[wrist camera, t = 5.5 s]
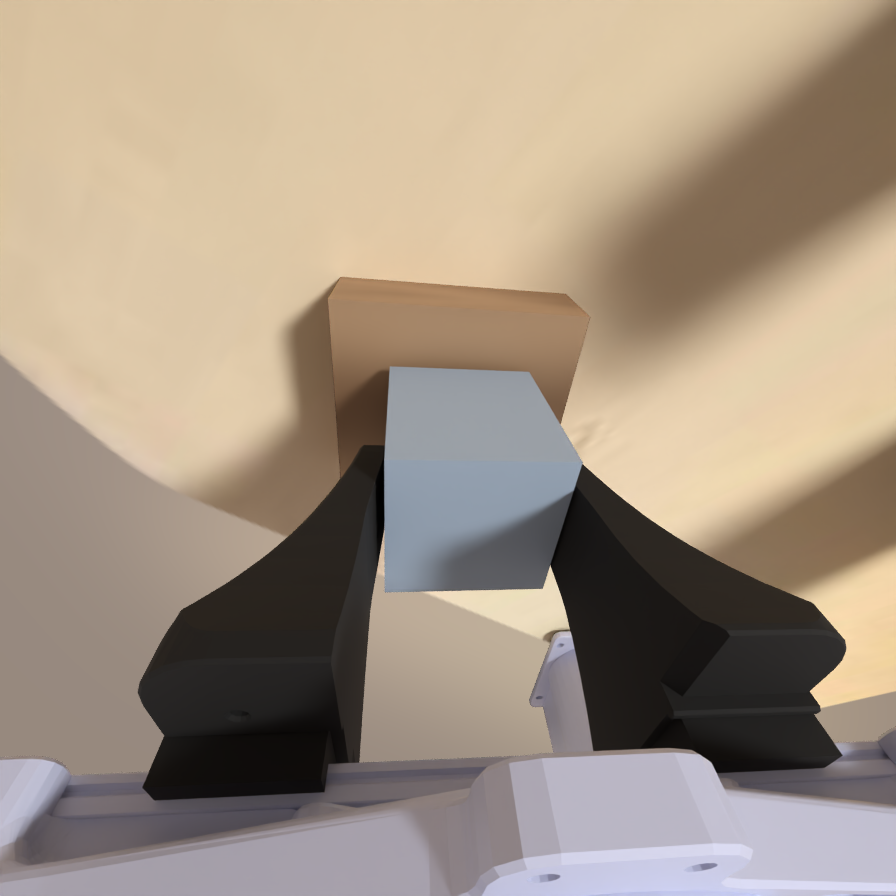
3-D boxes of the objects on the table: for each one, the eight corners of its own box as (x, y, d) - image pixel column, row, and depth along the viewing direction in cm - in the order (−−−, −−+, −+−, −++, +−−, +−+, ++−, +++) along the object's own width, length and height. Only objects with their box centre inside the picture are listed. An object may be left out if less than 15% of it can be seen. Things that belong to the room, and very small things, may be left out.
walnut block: (522, 464, 20) (537, 507, 18) (351, 458, 19) (342, 502, 17) (563, 291, 16) (590, 317, 13) (342, 274, 15) (328, 299, 12)
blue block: (507, 480, 16) (542, 588, 12) (389, 479, 16) (384, 592, 12) (529, 371, 14) (582, 462, 10) (389, 366, 13) (384, 459, 9)
